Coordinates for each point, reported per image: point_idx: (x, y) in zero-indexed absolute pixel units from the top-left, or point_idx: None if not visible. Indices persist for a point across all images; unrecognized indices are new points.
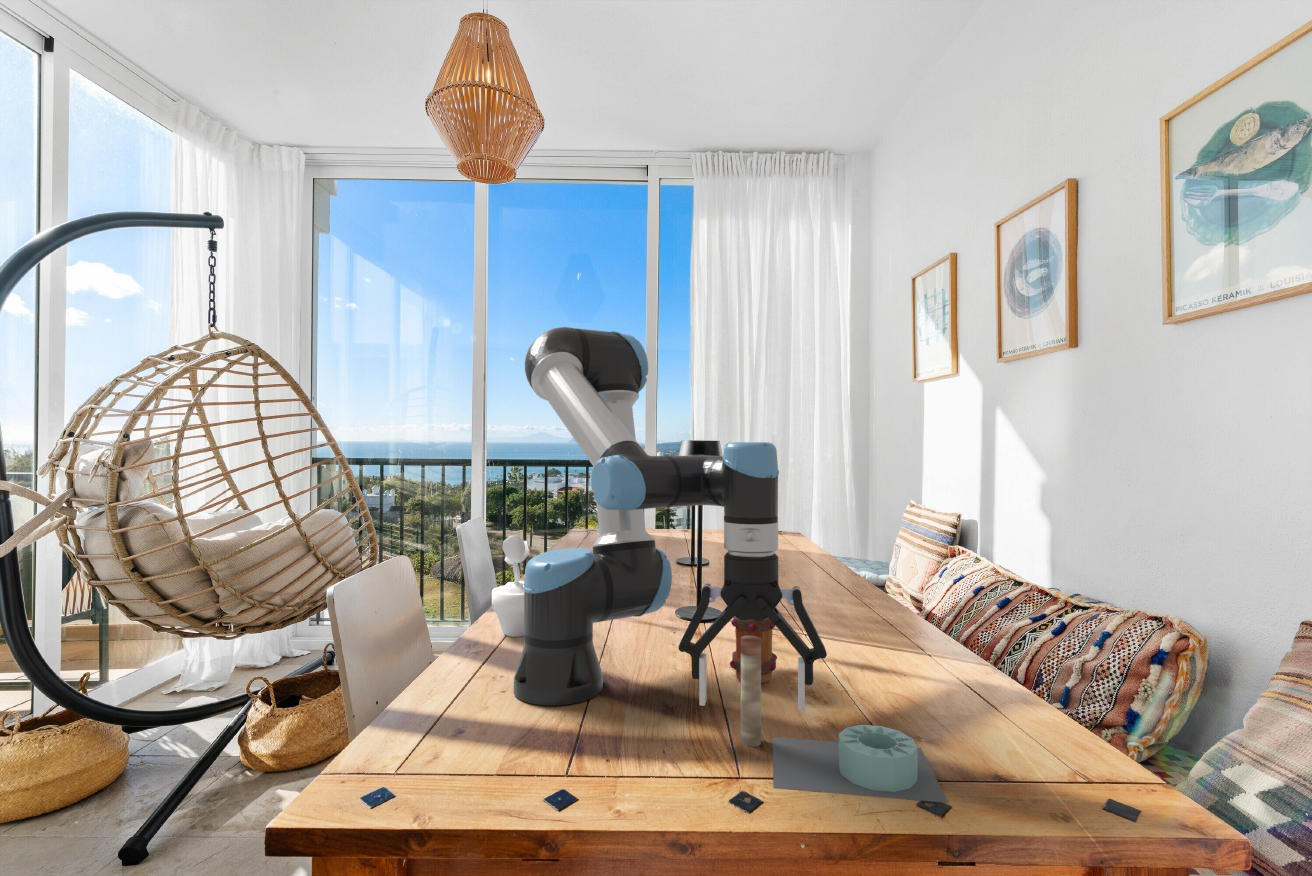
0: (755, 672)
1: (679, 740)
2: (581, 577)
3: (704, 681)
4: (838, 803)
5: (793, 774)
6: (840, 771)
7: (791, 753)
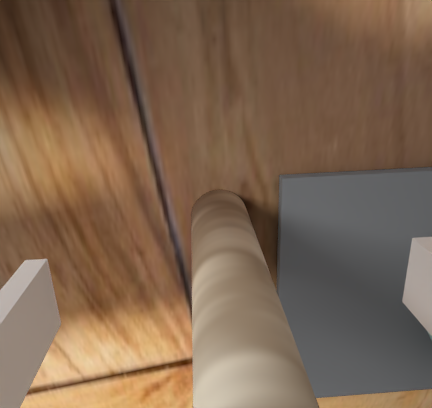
0: None
1: (13, 224)
2: None
3: (23, 399)
4: (390, 396)
5: (321, 350)
6: None
7: (327, 261)
